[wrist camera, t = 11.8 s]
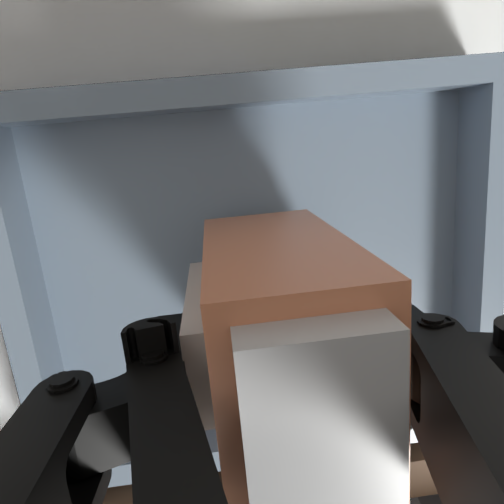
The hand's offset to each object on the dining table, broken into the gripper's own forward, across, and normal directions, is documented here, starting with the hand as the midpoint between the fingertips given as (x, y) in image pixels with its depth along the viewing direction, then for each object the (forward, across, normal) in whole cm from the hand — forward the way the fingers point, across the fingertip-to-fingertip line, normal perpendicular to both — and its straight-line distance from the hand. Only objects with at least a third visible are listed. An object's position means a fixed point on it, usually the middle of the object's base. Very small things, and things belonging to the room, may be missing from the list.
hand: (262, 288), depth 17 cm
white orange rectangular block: (0, 0, 0) cm, 0 cm away
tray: (+3, 0, 0) cm, 3 cm away
